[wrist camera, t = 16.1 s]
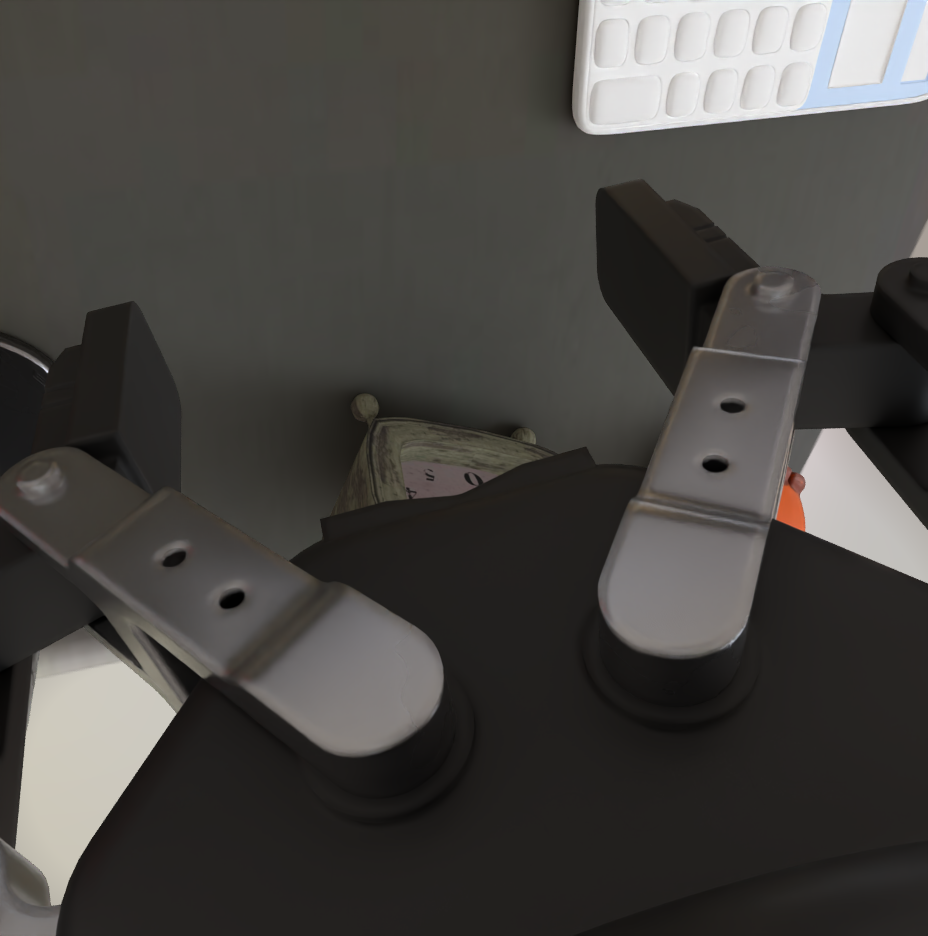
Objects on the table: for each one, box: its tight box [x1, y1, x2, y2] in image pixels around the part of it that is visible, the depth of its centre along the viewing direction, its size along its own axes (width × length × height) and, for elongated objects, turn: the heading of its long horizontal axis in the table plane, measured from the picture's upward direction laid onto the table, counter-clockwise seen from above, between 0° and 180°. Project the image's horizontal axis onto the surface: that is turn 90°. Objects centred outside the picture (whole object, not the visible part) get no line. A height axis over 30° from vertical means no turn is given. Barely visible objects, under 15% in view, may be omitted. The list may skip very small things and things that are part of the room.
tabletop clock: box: [322, 393, 557, 540], centre depth 43 cm, size 14×9×25 cm, turn 66°
